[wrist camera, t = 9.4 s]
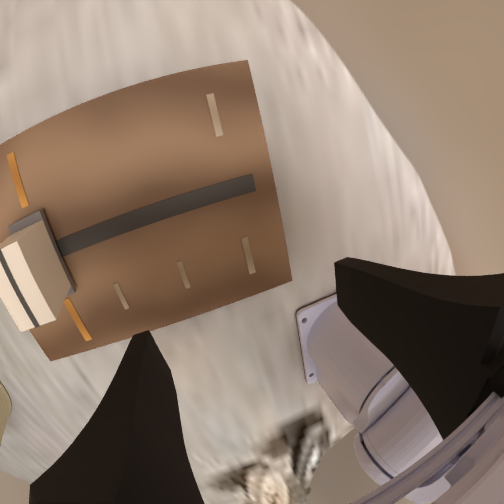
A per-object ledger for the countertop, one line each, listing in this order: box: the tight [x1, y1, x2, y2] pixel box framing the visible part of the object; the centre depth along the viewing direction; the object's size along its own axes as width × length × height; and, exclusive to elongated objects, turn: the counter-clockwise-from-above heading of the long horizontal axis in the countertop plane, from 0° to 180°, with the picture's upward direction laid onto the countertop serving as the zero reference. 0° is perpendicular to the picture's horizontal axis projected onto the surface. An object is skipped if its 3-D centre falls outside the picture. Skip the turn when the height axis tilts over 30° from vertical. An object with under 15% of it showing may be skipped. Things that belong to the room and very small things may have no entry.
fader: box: [0, 209, 77, 332], centre depth 12 cm, size 5×2×4 cm, turn 12°
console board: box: [0, 60, 292, 361], centre depth 16 cm, size 14×18×2 cm
